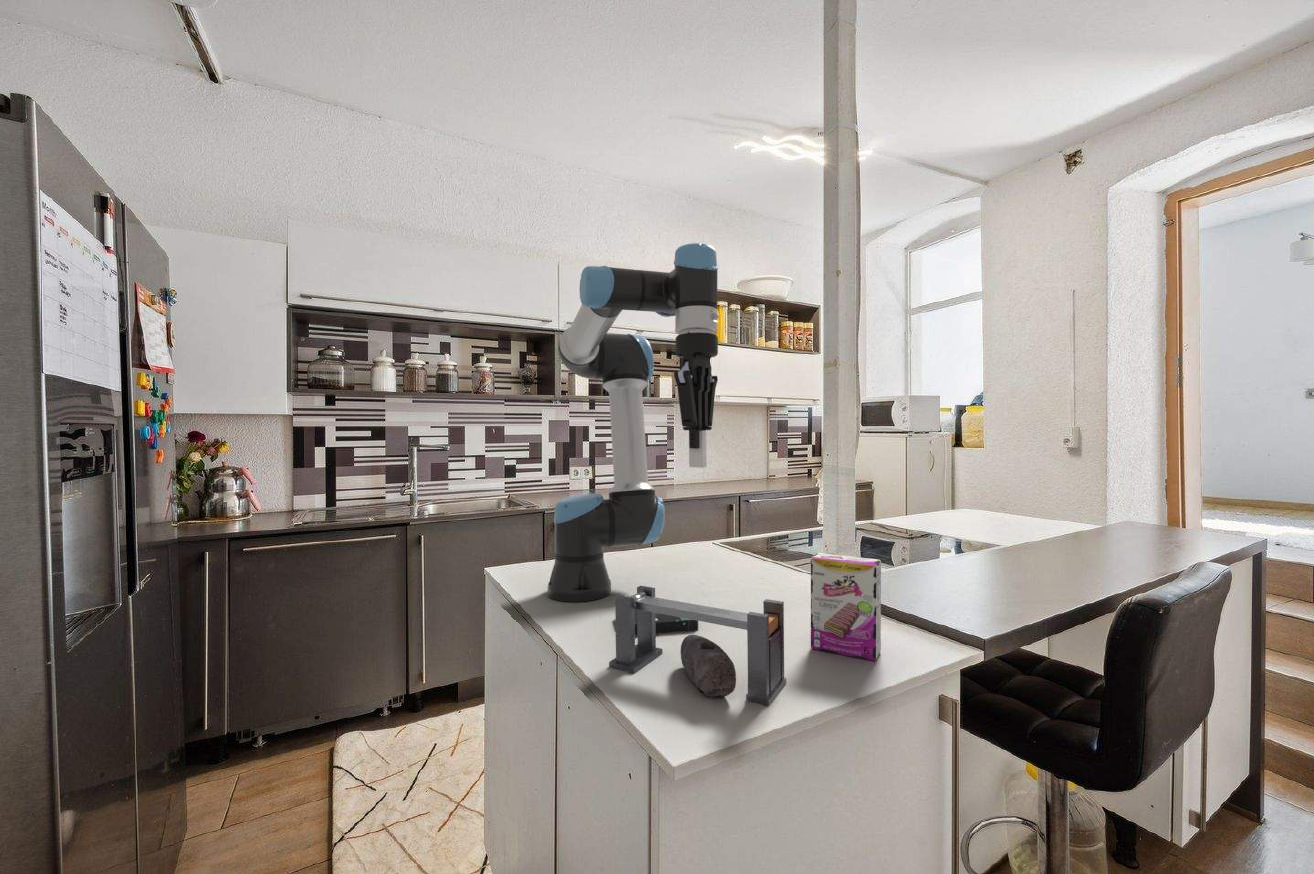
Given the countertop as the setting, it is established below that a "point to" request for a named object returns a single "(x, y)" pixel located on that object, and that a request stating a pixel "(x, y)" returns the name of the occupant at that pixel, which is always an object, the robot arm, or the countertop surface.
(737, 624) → the grey long bar
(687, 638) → the perforated stone tool
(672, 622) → the disk drive
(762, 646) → the catch block
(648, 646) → the bracket
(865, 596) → the candy bar box
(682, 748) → the countertop surface
